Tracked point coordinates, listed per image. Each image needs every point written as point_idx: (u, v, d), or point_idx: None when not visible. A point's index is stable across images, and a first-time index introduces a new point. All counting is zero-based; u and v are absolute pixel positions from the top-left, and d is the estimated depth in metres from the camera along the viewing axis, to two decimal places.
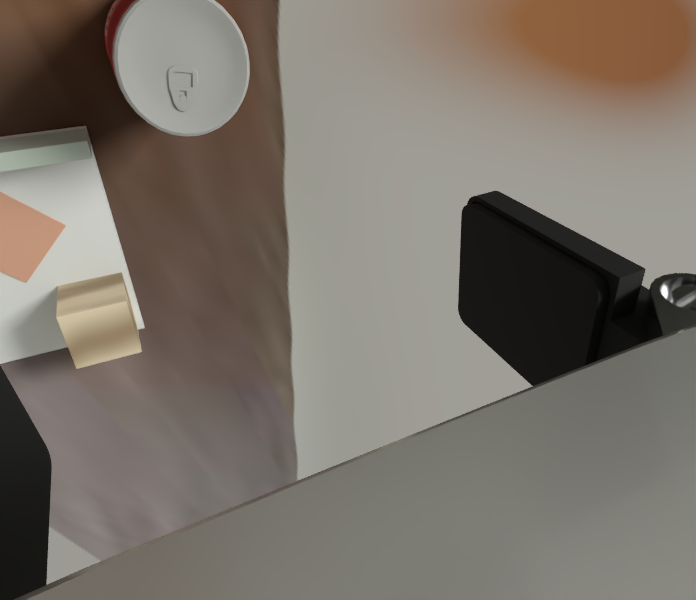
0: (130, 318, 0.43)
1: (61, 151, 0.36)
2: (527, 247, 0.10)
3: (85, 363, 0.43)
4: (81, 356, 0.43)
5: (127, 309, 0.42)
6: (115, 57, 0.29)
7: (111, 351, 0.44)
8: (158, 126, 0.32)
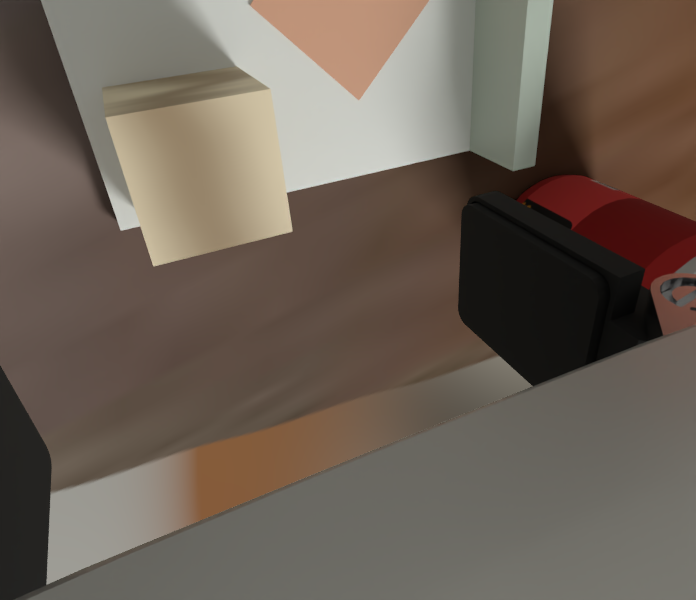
0: (249, 239, 0.19)
1: (530, 129, 0.24)
2: (527, 247, 0.10)
3: (123, 140, 0.16)
4: (148, 132, 0.16)
5: (272, 233, 0.20)
6: None
7: (158, 200, 0.17)
8: None
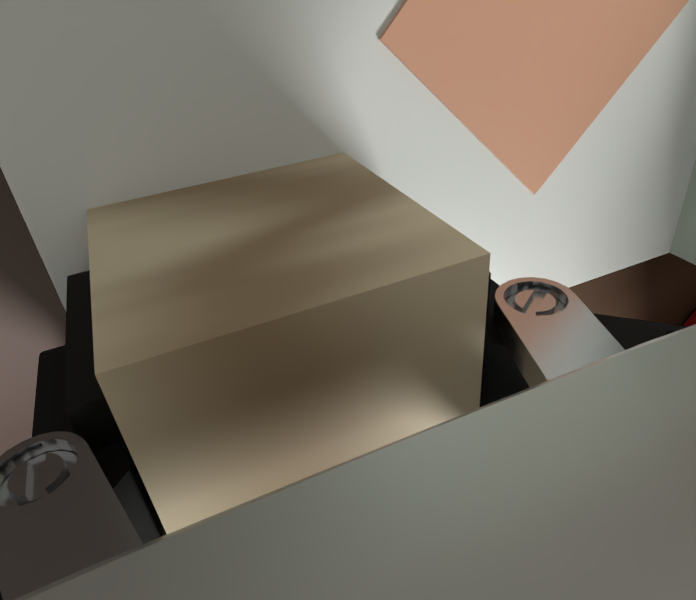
0: None
1: None
2: None
3: (143, 413, 0.06)
4: (205, 387, 0.06)
5: None
6: None
7: (220, 508, 0.07)
8: None
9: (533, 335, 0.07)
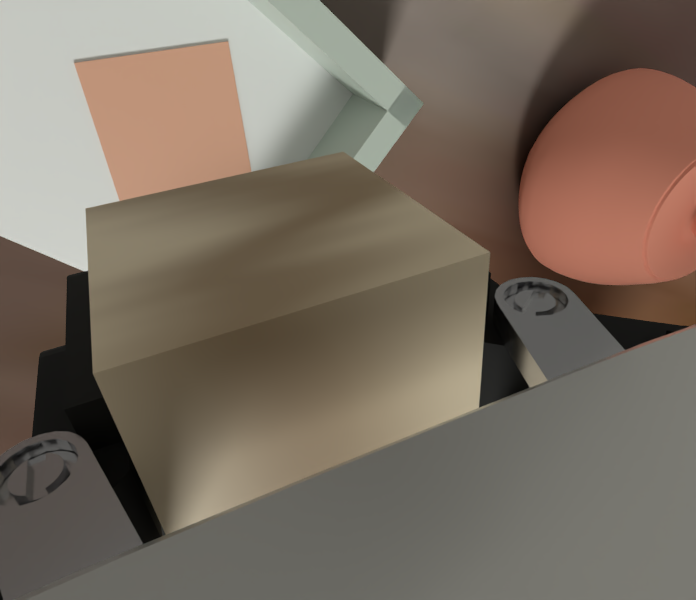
0: None
1: None
2: None
3: (141, 412, 0.06)
4: (204, 386, 0.06)
5: None
6: None
7: (219, 507, 0.07)
8: None
9: (533, 335, 0.07)
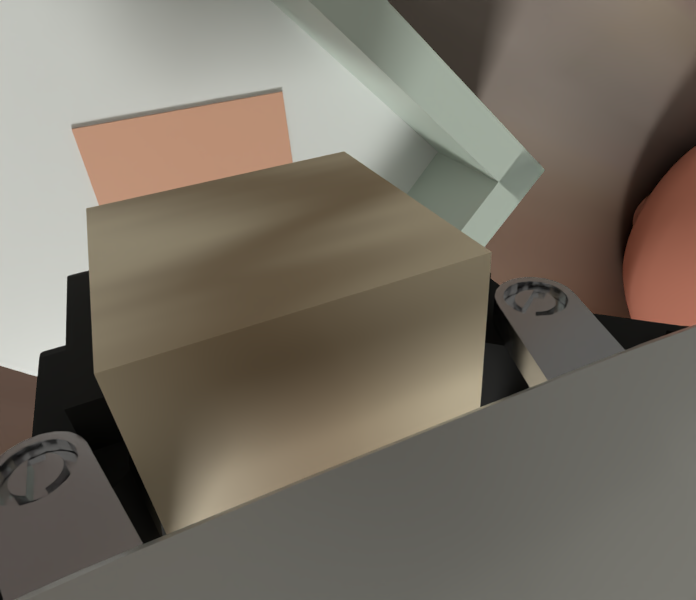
0: None
1: None
2: None
3: (143, 411, 0.06)
4: (205, 386, 0.06)
5: None
6: None
7: (221, 508, 0.07)
8: None
9: (533, 335, 0.07)
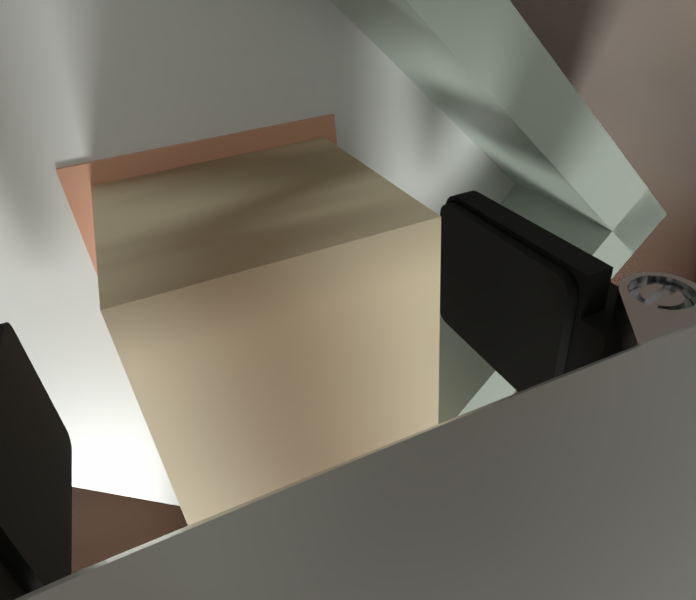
0: None
1: None
2: (501, 246, 0.10)
3: (140, 347, 0.07)
4: (193, 326, 0.08)
5: None
6: None
7: (208, 440, 0.09)
8: None
9: (646, 324, 0.07)
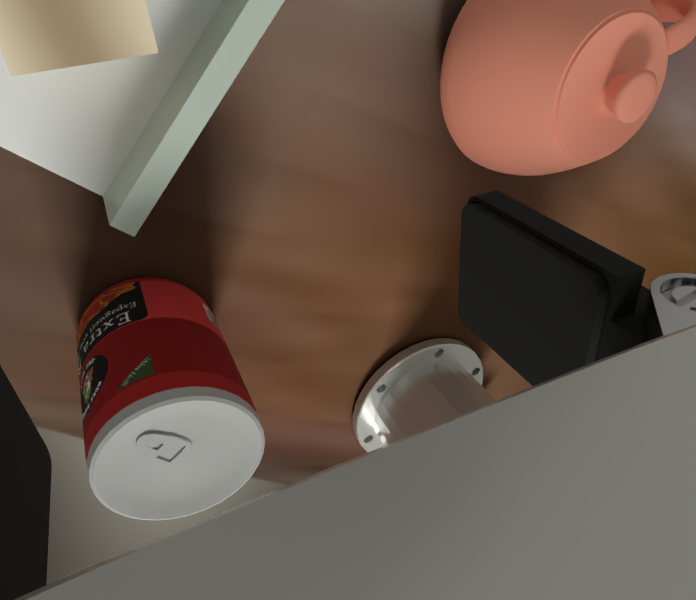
0: (112, 57, 0.20)
1: (144, 201, 0.24)
2: (527, 247, 0.10)
3: None
4: None
5: (137, 53, 0.20)
6: (241, 407, 0.24)
7: (7, 0, 0.18)
8: (145, 410, 0.22)
9: (676, 325, 0.07)
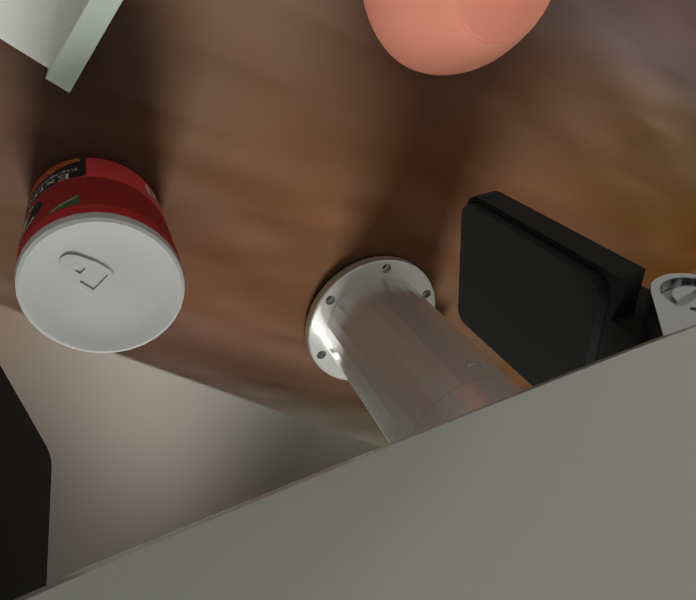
0: None
1: (77, 58, 0.27)
2: (527, 247, 0.10)
3: None
4: None
5: None
6: (158, 239, 0.27)
7: None
8: (64, 225, 0.25)
9: (675, 325, 0.07)
